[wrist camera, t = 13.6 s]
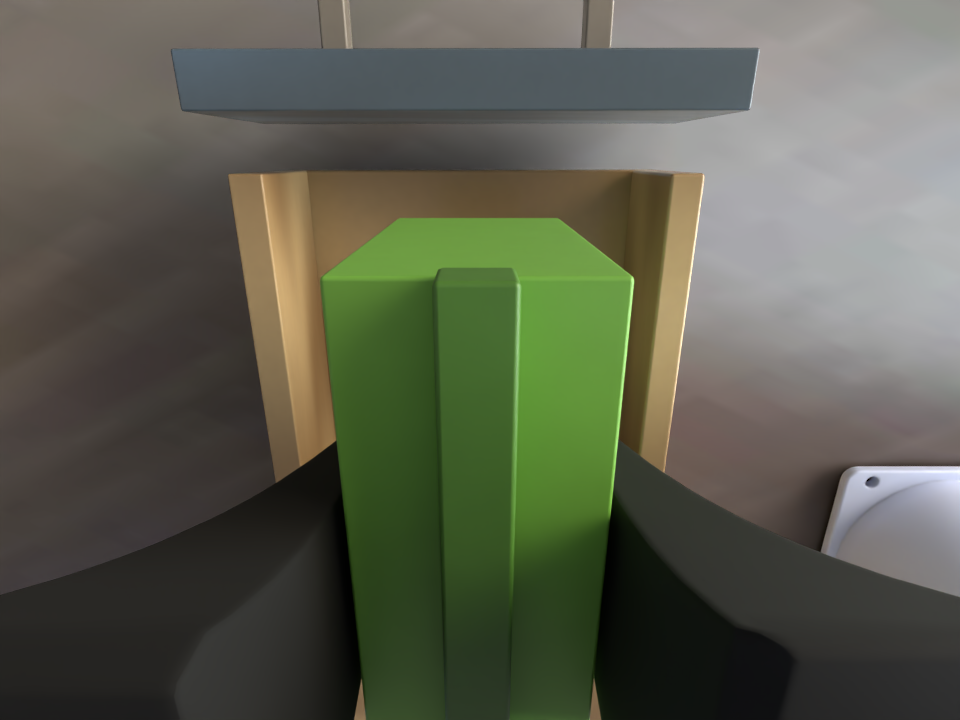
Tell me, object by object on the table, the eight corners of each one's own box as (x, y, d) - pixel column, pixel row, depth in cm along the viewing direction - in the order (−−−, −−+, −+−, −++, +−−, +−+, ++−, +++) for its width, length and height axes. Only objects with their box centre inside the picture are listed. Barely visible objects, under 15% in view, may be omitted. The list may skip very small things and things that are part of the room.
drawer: (231, -122, 14) (115, -251, 10) (704, -123, 14) (808, -252, 10) (320, 561, 22) (279, 664, 17) (625, 561, 22) (663, 665, 17)
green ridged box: (559, 212, 11) (659, 281, 5) (541, 583, 14) (586, 898, 8) (397, 212, 11) (293, 281, 5) (416, 582, 14) (369, 898, 8)
